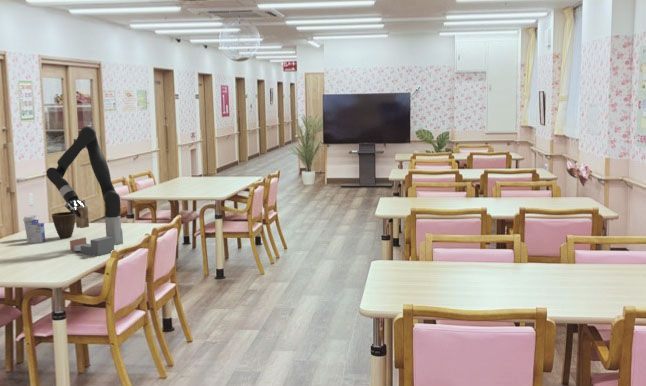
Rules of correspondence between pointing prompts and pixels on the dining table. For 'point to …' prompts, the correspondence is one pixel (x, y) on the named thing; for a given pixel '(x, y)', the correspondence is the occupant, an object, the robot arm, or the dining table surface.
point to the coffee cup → (29, 220)
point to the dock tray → (78, 244)
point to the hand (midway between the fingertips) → (83, 215)
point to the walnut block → (82, 217)
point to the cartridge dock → (99, 246)
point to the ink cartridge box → (35, 232)
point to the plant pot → (64, 223)
